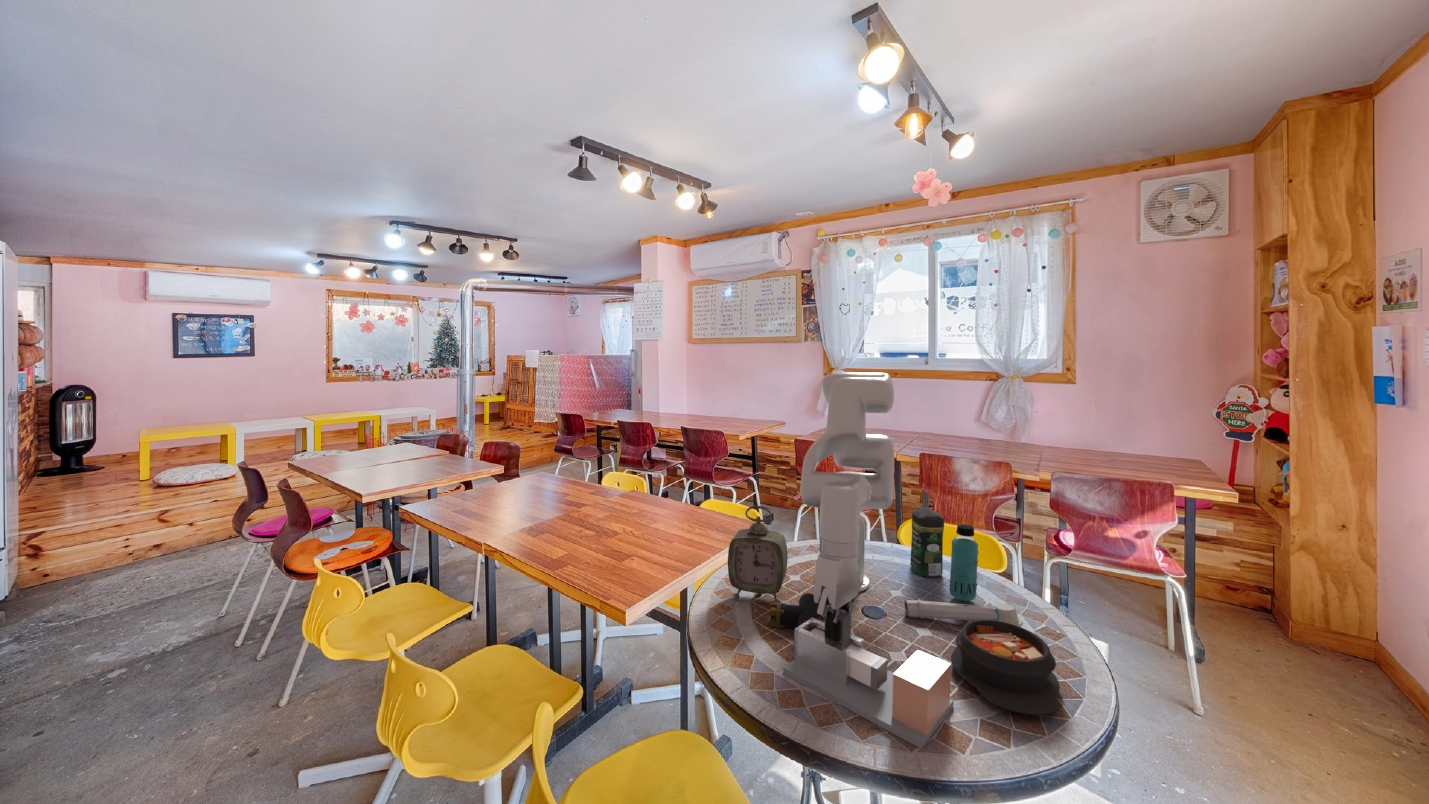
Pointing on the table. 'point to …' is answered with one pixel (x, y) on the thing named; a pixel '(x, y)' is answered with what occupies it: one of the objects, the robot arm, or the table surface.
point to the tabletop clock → (757, 558)
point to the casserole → (1007, 666)
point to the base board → (862, 700)
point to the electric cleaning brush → (961, 611)
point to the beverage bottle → (964, 564)
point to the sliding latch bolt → (859, 655)
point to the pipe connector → (794, 612)
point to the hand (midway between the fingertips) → (837, 634)
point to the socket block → (921, 691)
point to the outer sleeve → (823, 652)
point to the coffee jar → (927, 542)
